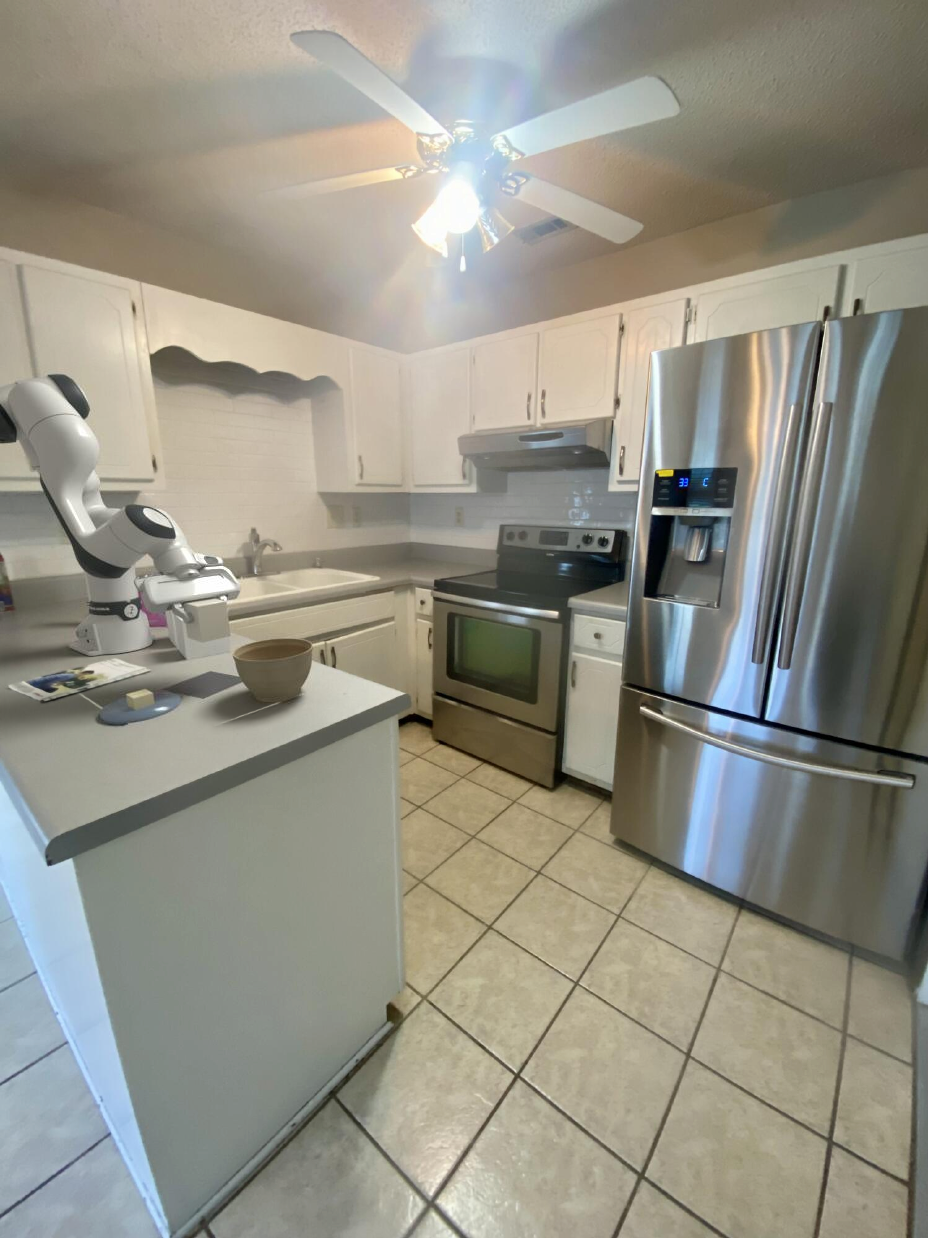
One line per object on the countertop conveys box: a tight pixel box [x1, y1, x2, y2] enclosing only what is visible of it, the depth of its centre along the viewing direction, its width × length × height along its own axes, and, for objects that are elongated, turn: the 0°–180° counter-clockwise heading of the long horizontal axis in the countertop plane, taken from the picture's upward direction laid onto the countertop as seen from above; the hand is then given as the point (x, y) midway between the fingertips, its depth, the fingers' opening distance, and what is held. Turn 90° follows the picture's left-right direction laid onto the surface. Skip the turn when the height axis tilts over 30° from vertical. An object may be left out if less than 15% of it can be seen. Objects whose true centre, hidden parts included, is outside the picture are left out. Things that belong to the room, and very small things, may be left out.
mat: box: [161, 670, 243, 700], centre depth 117 cm, size 13×13×1 cm
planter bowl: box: [232, 637, 314, 703], centre depth 110 cm, size 16×16×11 cm
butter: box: [125, 688, 155, 710], centre depth 104 cm, size 4×4×2 cm
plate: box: [99, 691, 182, 726], centre depth 104 cm, size 14×14×1 cm
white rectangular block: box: [183, 598, 231, 643], centre depth 113 cm, size 6×6×8 cm
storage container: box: [165, 608, 232, 661], centre depth 146 cm, size 25×11×11 cm, turn 39°
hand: (208, 618), depth 112 cm, fingers closed on white rectangular block, 6 cm apart
